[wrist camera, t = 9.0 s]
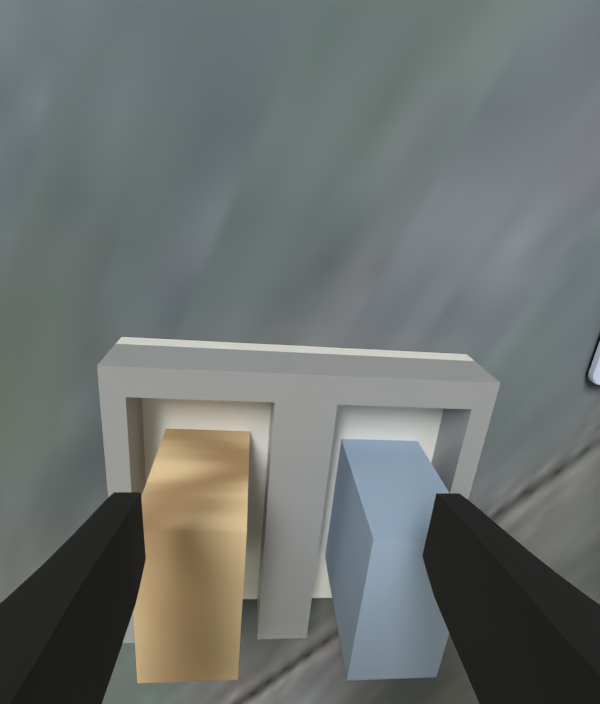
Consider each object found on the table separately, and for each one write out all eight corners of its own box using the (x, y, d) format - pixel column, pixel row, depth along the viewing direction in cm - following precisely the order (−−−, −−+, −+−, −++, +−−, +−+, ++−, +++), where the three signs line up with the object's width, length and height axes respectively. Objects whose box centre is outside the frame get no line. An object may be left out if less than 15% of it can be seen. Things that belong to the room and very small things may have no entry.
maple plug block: (249, 431, 19) (246, 532, 14) (242, 552, 22) (237, 680, 16) (166, 428, 19) (128, 531, 13) (168, 552, 22) (137, 683, 16)
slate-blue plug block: (417, 440, 20) (477, 539, 15) (392, 556, 23) (436, 677, 17) (341, 438, 20) (373, 539, 14) (324, 556, 23) (346, 680, 17)
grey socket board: (466, 354, 20) (500, 382, 17) (411, 584, 25) (430, 634, 22) (121, 336, 18) (96, 365, 15) (136, 587, 23) (120, 643, 20)
